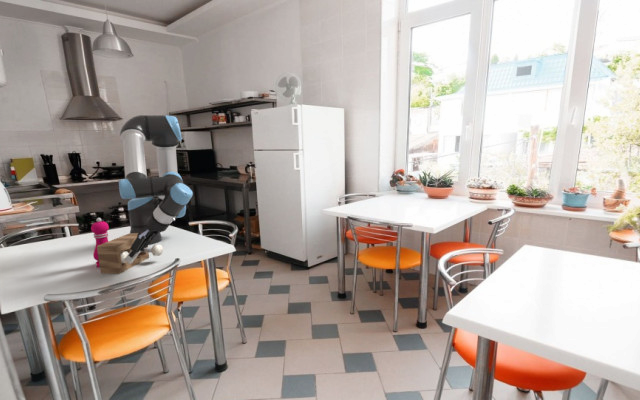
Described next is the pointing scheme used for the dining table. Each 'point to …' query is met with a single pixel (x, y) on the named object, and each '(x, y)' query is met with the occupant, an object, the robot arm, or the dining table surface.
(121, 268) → the walnut block
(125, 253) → the outer knob
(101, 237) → the pepper mill
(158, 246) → the inner knob
